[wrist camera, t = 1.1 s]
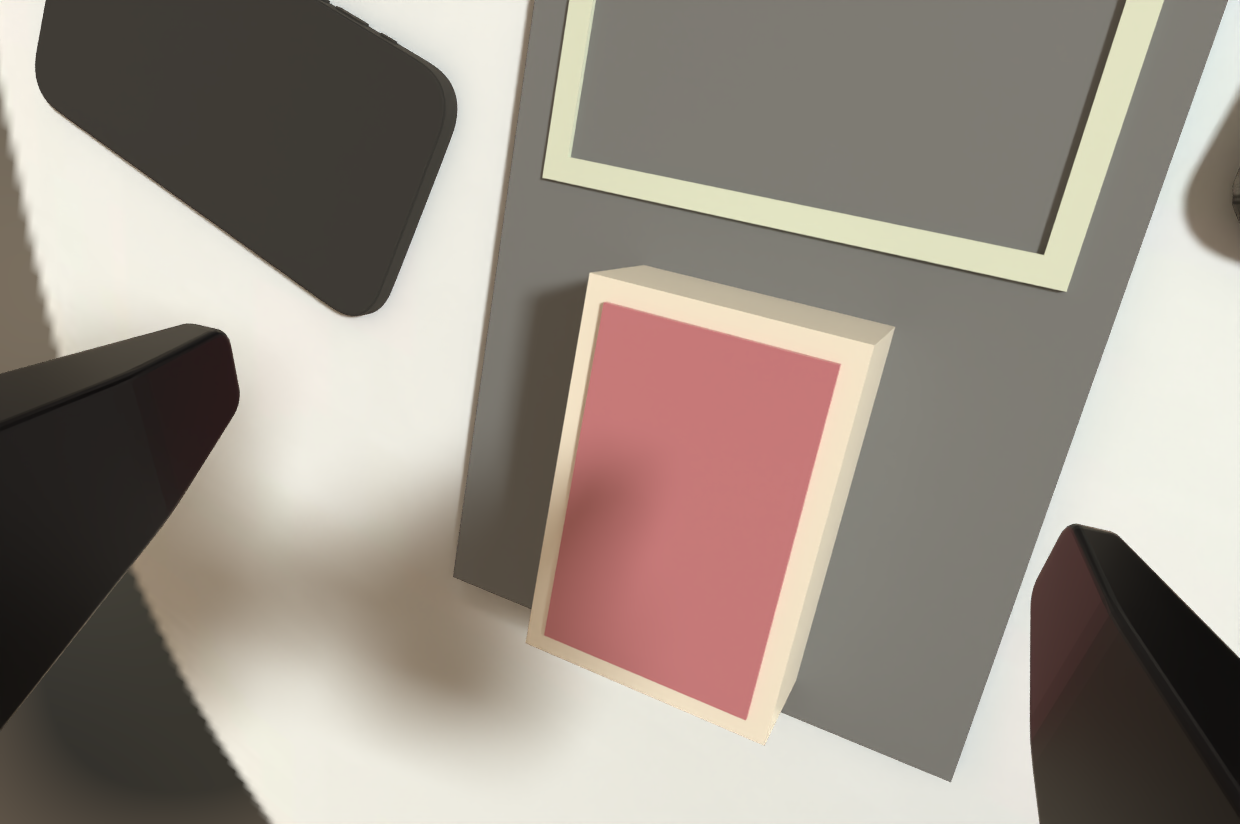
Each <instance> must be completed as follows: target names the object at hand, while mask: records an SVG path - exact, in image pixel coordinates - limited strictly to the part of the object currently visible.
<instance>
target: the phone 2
mask: <svg viewBox="0 0 1240 824" xmlns="http://www.w3.org/2000/svg"><path fill="white" fill-rule="evenodd" d="M1233 207H1234V210H1235V213H1236V215H1237V218H1238V221H1239V223H1240V168H1239V171H1238V173H1237V176H1236V178H1235V181H1234V183H1233Z"/></svg>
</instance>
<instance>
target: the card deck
mask: <svg viewBox="0 0 1240 824" xmlns="http://www.w3.org/2000/svg"><path fill="white" fill-rule="evenodd" d="M894 329H895V327H894V326H890V325H886V324H882V323H878V322H874V321H870V320H866V319H862V318H857V317H853V316H849V315H845V314H841V313H837V312H833V311H829V310H825V309H821V308H817V307H813V306H809V305H805V304H801V303H796V302H792V301H788V300H784V299H780V298H776V297H772V296H768V295H764V294H760V293H756V292H752V291H748V290H744V289H740V288H735V287H731V286H727V285H723V284H719V283H715V282H711V281H707V280H703V279H699V278H695V277H691V276H687V275H683V274H679V273H674V272H670V271H666V270H662V269H658V268H654V267H650V266H646V265H641V266H634V267H627V268H620V269H613V270H605V271H598V272H591V273H590V274H589V280H588V285H587V291H586V297H585V303H584V308H583V314H582V320H581V326H580V332H579V337H578V343H577V349H576V355H575V361H574V366H573V372H572V378H571V384H570V389H569V395H568V401H567V407H566V413H565V418H564V424H563V430H562V436H561V442H560V447H559V453H558V459H557V465H556V470H555V476H554V482H553V488H552V494H551V499H550V505H549V511H548V517H547V523H546V528H545V534H544V540H543V546H542V551H541V557H540V563H539V569H538V575H537V580H536V586H535V592H534V598H533V604H532V609H531V615H530V621H529V627H528V632H527V638H526V643H527V644H529V645H531V646H534V647H536V648H538V649H540V650H543V651H545V652H547V653H550V654H552V655H554V656H557V657H559V658H561V659H564V660H566V661H568V662H571V663H573V664H575V665H578V666H580V667H582V668H585V669H587V670H589V671H592V672H594V673H596V674H599V675H601V676H603V677H606V678H608V679H610V680H613V681H615V682H617V683H620V684H622V685H624V686H627V687H629V688H631V689H634V690H636V691H638V692H641V693H643V694H645V695H648V696H650V697H652V698H655V699H657V700H659V701H662V702H664V703H666V704H669V705H671V706H673V707H676V708H678V709H680V710H683V711H685V712H687V713H690V714H692V715H694V716H697V717H699V718H701V719H704V720H706V721H708V722H711V723H713V724H715V725H718V726H720V727H722V728H725V729H727V730H729V731H731V732H734V733H736V734H738V735H741V736H743V737H745V738H748V739H750V740H752V741H755V742H757V743H759V744H762V745H764V746H765V743H766V741H767V739H768V737H769V735H770V733H771V731H772V729H773V727H774V725H775V723H776V721H777V719H778V717H779V715H780V713H781V710H782V708H783V706H784V704H785V702H786V700H787V698H788V696H789V694H790V692H791V690H792V688H793V686H794V684H795V682H796V679H797V675H798V672H799V668H800V665H801V661H802V658H803V654H804V650H805V647H806V643H807V640H808V636H809V633H810V629H811V625H812V622H813V618H814V615H815V611H816V608H817V604H818V601H819V597H820V593H821V590H822V586H823V583H824V579H825V576H826V572H827V568H828V565H829V561H830V558H831V554H832V551H833V547H834V543H835V540H836V536H837V533H838V529H839V526H840V522H841V519H842V515H843V511H844V508H845V504H846V501H847V497H848V494H849V490H850V486H851V483H852V479H853V476H854V472H855V469H856V465H857V461H858V458H859V454H860V451H861V447H862V444H863V440H864V436H865V433H866V429H867V426H868V422H869V419H870V415H871V412H872V408H873V404H874V401H875V397H876V394H877V390H878V387H879V383H880V379H881V376H882V372H883V369H884V365H885V362H886V358H887V354H888V351H889V347H890V344H891V340H892V337H893V333H894Z"/></svg>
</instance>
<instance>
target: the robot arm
mask: <svg viewBox="0 0 1240 824" xmlns="http://www.w3.org/2000/svg"><path fill="white" fill-rule="evenodd" d="M239 397H240V390H239V385H238V379H237V374H236V369H235V364H234V358H233V353H232V348H231V343H230V340H229V338H228V337H227V335H226V334H225V333H224V332H222V331H221V330H218V329H214V328H210V327H205V326H201V325H197V324H182V325H179V326H175V327H171V328H168V329H164V330H160V331H156V332H153V333H149V334H145V335H142V336H138V337H134V338H131V339H127V340H123V341H119V342H116V343H112V344H108V345H105V346H101V347H97V348H94V349H90V350H86V351H82V352H79V353H75V354H71V355H68V356H64V357H60V358H57V359H53V360H49V361H46V362H42V363H38V364H35V365H31V366H27V367H24V368H19V369H16V370H12V371H8V372H5V373H1V374H0V731H1V730H2V729H3V727H4V726H5V725H6V724H7V722H8V721H9V720H10V719H11V717H12V716H13V715H14V714H15V712H16V711H17V710H18V709H19V707H20V706H21V705H22V703H23V702H24V701H25V699H26V698H27V697H28V696H29V695H30V693H31V692H32V691H33V690H34V688H35V687H36V686H37V684H38V683H39V682H40V681H41V679H42V678H43V677H44V676H45V674H46V673H47V672H48V671H49V669H50V668H51V667H52V665H53V664H54V663H55V662H56V660H57V659H58V658H59V657H60V655H61V654H62V653H63V652H64V650H65V649H66V648H67V646H68V645H69V644H70V643H71V641H72V640H73V639H74V638H75V636H76V635H77V634H78V633H79V631H80V630H81V629H82V627H83V626H84V625H85V624H86V622H87V621H88V620H89V619H90V617H91V616H92V615H93V614H94V612H95V611H96V610H97V609H98V607H99V606H100V605H101V603H102V602H103V601H104V600H105V598H106V597H107V596H108V595H109V593H110V592H111V591H112V590H113V588H114V587H115V586H116V584H117V583H118V582H119V581H120V579H121V578H122V577H123V576H124V574H125V573H126V572H127V571H128V569H129V568H130V567H131V565H132V564H133V563H134V562H135V560H136V559H137V558H138V557H139V555H140V554H141V553H142V552H143V550H144V549H145V548H146V547H147V545H148V544H149V543H150V541H151V540H152V539H153V538H154V536H155V535H156V534H157V532H158V531H159V530H160V528H161V527H162V526H163V524H164V523H165V522H166V520H167V519H168V518H169V516H170V515H171V513H172V512H173V510H174V509H175V507H176V506H177V504H178V503H179V502H180V500H181V498H182V497H183V495H184V494H185V492H186V491H187V489H188V487H189V486H190V484H191V483H192V481H193V479H194V478H195V476H196V475H197V473H198V471H199V470H200V468H201V467H202V465H203V463H204V462H205V460H206V459H207V457H208V456H209V454H210V452H211V451H212V449H213V448H214V446H215V444H216V443H217V441H218V440H219V438H220V436H221V435H222V433H223V432H224V430H225V429H226V427H227V425H228V424H229V422H230V421H231V419H232V417H233V416H234V414H235V412H236V410H237V407H238V404H239ZM1030 744H1031V755H1032V765H1033V774H1034V782H1035V790H1036V799H1037V807H1038V815H1039V823H1040V824H1240V658H1239V657H1238V656H1237V655H1236V654H1235V653H1234V652H1233V651H1232V650H1231V649H1230V648H1229V647H1228V646H1227V645H1226V644H1225V643H1224V642H1223V641H1222V640H1221V639H1220V638H1219V637H1218V636H1217V635H1216V634H1215V633H1214V632H1213V631H1212V630H1211V629H1210V627H1209V626H1208V625H1207V624H1206V623H1205V622H1204V621H1203V620H1202V619H1201V618H1200V617H1199V616H1198V615H1197V614H1196V613H1195V612H1194V611H1193V610H1192V609H1191V608H1190V607H1189V606H1188V605H1187V604H1186V603H1185V602H1184V601H1183V600H1182V599H1181V598H1180V597H1179V596H1178V595H1177V594H1176V593H1175V592H1174V591H1173V590H1172V589H1171V588H1170V587H1169V586H1168V585H1167V584H1166V583H1165V582H1164V581H1163V580H1162V579H1161V578H1160V577H1159V576H1158V575H1157V574H1156V573H1155V572H1154V571H1153V570H1152V569H1151V568H1150V567H1149V566H1148V565H1147V564H1146V563H1145V562H1144V561H1143V560H1142V559H1141V558H1140V557H1139V556H1138V555H1137V554H1136V553H1135V552H1134V551H1133V550H1132V549H1131V548H1130V547H1129V546H1128V545H1127V544H1126V543H1125V542H1124V541H1123V540H1122V539H1121V538H1120V537H1119V536H1118V535H1117V534H1115V533H1113V532H1111V531H1107V530H1103V529H1098V528H1094V527H1089V526H1085V525H1080V524H1072V525H1069V526H1067V527H1066V528H1065V529H1064V530H1063V531H1062V533H1061V535H1060V536H1059V538H1058V540H1057V542H1056V544H1055V546H1054V548H1053V549H1052V551H1051V553H1050V555H1049V557H1048V559H1047V561H1046V563H1045V565H1044V566H1043V568H1042V570H1041V572H1040V574H1039V576H1038V578H1037V580H1036V582H1035V585H1034V588H1033V592H1032V597H1031V619H1030Z"/></svg>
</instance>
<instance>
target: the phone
mask: <svg viewBox="0 0 1240 824" xmlns="http://www.w3.org/2000/svg"><path fill="white" fill-rule="evenodd" d="M35 72H36V79H37V83H38V86H39V89H40V91H41V93H42V95H43V96H44V98H45V99H46V100H47V102H48V103H49V104H50V105H51V106H52V107H53V108H55V109H56V110H57V111H58V112H60V113H61V114H62V115H64V116H65V117H67V118H68V119H69V120H71V121H72V122H74V123H75V124H76V125H78V126H79V127H80V128H82V129H83V130H85V131H86V132H87V133H89V134H90V135H92V136H93V137H94V138H96V139H97V140H99V141H100V142H101V143H103V144H104V145H106V146H107V147H108V148H110V149H111V150H113V151H114V152H115V153H117V154H118V155H120V156H121V157H122V158H124V159H125V160H126V161H128V162H129V163H131V164H132V165H133V166H135V167H136V168H138V169H139V170H140V171H142V172H143V173H145V174H146V175H147V176H149V177H150V178H152V179H153V180H154V181H156V182H157V183H159V184H160V185H161V186H163V187H164V188H166V189H167V190H168V191H170V192H171V193H173V194H174V195H175V196H177V197H178V198H179V199H181V200H182V201H184V202H185V203H186V204H188V205H189V206H191V207H192V208H193V209H195V210H196V211H198V212H199V213H200V214H202V215H203V216H205V217H206V218H207V219H209V220H210V221H212V222H213V223H214V224H216V225H217V226H219V227H220V228H221V229H223V230H224V231H225V232H227V233H228V234H230V235H231V236H232V237H234V238H235V239H237V240H238V241H239V242H241V243H242V244H244V245H245V246H246V247H248V248H249V249H251V250H252V251H253V252H255V253H256V254H258V255H259V256H260V257H262V258H263V259H265V260H266V261H267V262H269V263H270V264H272V265H273V266H274V267H276V268H277V269H278V270H280V271H281V272H283V273H284V274H285V275H287V276H288V277H290V278H291V279H292V280H294V281H295V282H297V283H298V284H299V285H301V286H302V287H304V288H305V289H306V290H308V291H309V292H311V293H312V294H313V295H315V296H316V297H318V298H319V299H320V300H322V301H323V302H325V303H326V304H327V305H329V306H330V307H332V308H333V309H335V310H337V311H339V312H341V313H343V314H346V315H350V316H358V315H364V314H370V313H373V312H375V311H377V310H378V309H380V308H381V307H382V306H383V305H384V303H385V302H386V300H387V299H388V297H389V295H390V293H391V291H392V288H393V286H394V284H395V281H396V279H397V276H398V273H399V271H400V268H401V266H402V263H403V261H404V258H405V256H406V253H407V251H408V248H409V246H410V243H411V240H412V238H413V235H414V233H415V230H416V228H417V225H418V222H419V220H420V217H421V215H422V212H423V210H424V207H425V204H426V202H427V199H428V197H429V194H430V192H431V189H432V186H433V184H434V181H435V179H436V176H437V174H438V171H439V168H440V166H441V163H442V161H443V158H444V155H445V153H446V150H447V147H448V145H449V142H450V139H451V137H452V134H453V131H454V128H455V124H456V118H457V100H456V95H455V92H454V89H453V87H452V85H451V83H450V81H449V80H448V79H447V77H446V76H445V75H444V74H443V73H442V72H441V71H440V70H439V69H438V68H436V67H435V66H434V65H432V64H431V63H429V62H427V61H426V60H424V59H423V58H421V57H419V56H418V55H416V54H414V53H413V52H411V51H409V50H408V49H406V48H404V47H402V46H401V45H399V44H397V42H396V41H395V40H393V39H391V38H390V37H388V36H386V35H385V34H383V33H379V32H377V31H376V30H374V29H372V28H371V27H369V24H368V23H366V22H364V21H363V20H361V19H359V18H357V17H356V16H354V15H352V14H351V13H349V12H347V11H346V10H344V9H342V8H340V7H338V6H336V7H335V6H334V5H332V4H330V1H329V0H46V2H45V8H44V13H43V19H42V24H41V30H40V35H39V41H38V46H37V52H36V61H35Z"/></svg>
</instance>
